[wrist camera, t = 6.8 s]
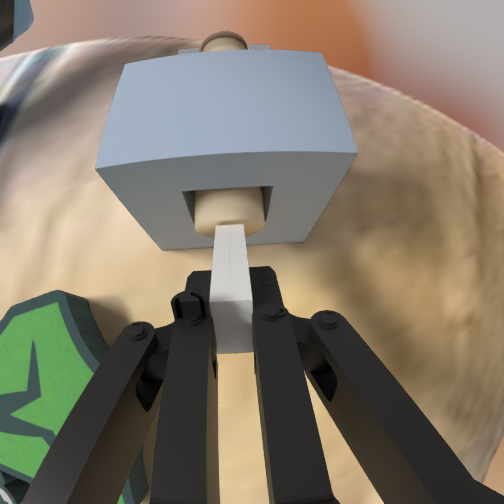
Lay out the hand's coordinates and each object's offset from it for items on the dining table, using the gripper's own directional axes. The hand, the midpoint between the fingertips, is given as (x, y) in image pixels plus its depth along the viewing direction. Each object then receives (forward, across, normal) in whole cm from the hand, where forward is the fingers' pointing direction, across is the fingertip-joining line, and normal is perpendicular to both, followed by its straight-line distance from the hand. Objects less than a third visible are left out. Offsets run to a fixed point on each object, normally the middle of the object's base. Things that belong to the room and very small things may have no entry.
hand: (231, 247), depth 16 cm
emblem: (-3, -22, -15) cm, 27 cm away
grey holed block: (+10, 0, -1) cm, 10 cm away
